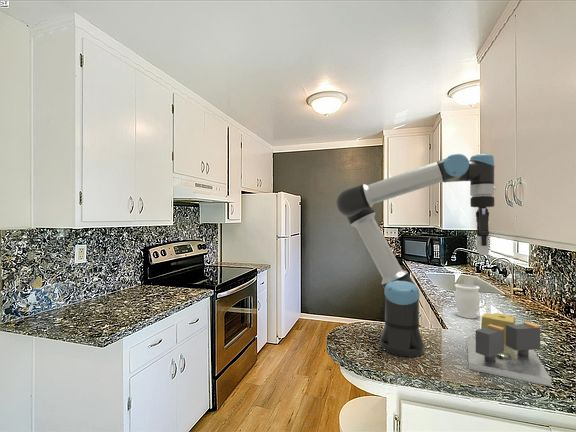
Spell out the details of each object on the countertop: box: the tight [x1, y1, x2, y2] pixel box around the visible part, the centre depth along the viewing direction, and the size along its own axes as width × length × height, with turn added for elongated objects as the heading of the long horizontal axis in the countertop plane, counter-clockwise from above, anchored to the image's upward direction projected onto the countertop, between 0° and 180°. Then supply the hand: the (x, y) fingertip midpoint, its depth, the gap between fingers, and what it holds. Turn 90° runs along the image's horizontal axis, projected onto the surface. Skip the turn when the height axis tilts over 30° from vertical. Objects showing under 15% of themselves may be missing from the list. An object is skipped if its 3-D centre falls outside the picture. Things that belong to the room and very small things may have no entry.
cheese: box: [480, 312, 516, 344], centre depth 118 cm, size 10×11×10 cm
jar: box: [454, 283, 480, 319], centre depth 150 cm, size 11×10×15 cm
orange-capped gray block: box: [506, 321, 541, 357], centre depth 101 cm, size 9×4×10 cm, turn 99°
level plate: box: [466, 337, 552, 387], centre depth 101 cm, size 20×24×3 cm
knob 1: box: [475, 324, 504, 362], centre depth 98 cm, size 9×4×10 cm, turn 120°
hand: (482, 253), depth 112 cm, fingers open, 13 cm apart
